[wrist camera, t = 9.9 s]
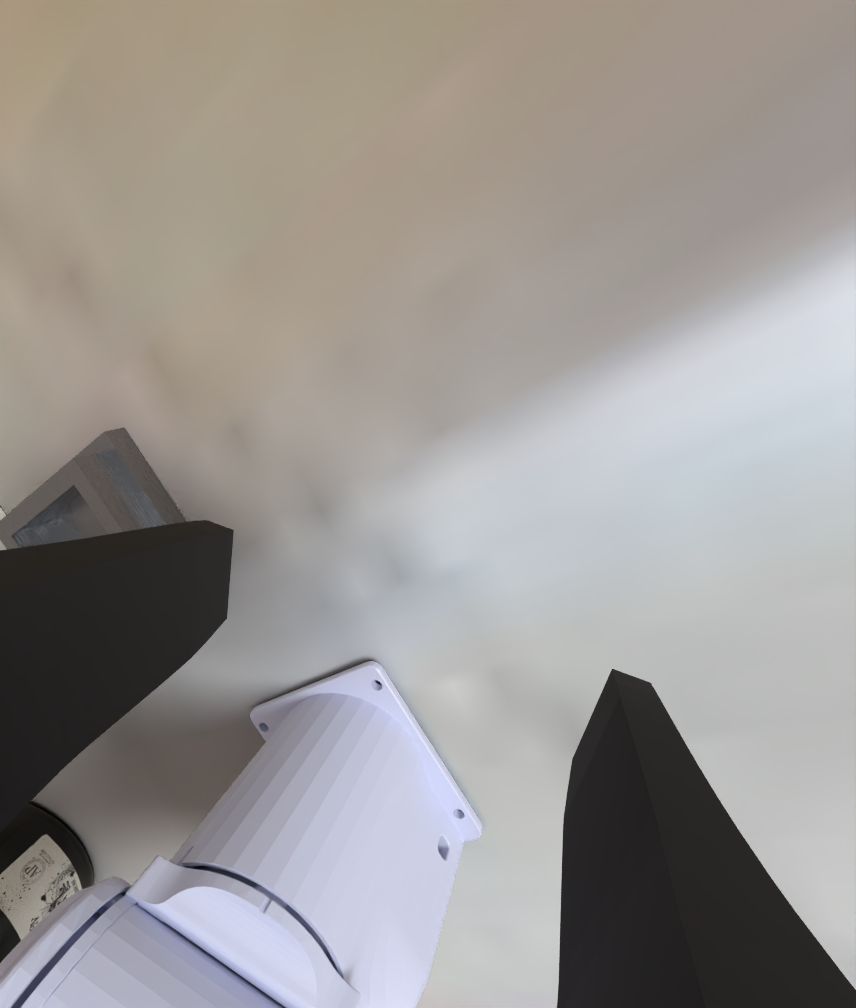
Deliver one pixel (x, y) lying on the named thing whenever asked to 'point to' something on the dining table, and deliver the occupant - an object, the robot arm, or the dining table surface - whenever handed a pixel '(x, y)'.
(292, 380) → the dining table surface
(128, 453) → the socket base
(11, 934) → the ink bottle
